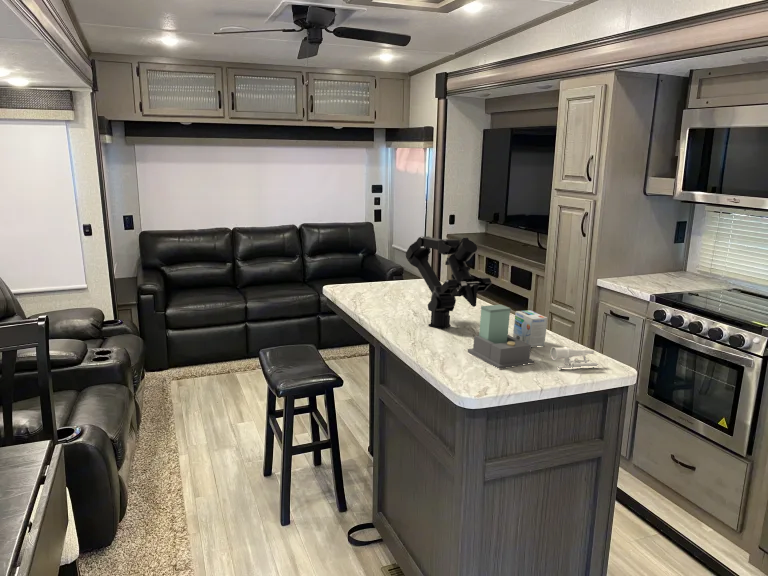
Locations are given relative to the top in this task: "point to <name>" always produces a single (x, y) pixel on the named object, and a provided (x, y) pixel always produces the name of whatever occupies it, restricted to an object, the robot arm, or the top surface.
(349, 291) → the top surface
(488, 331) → the pale green tall block
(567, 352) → the toy cannon
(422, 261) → the robot arm
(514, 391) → the top surface
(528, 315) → the light bulb box
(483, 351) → the switch housing
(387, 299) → the top surface
